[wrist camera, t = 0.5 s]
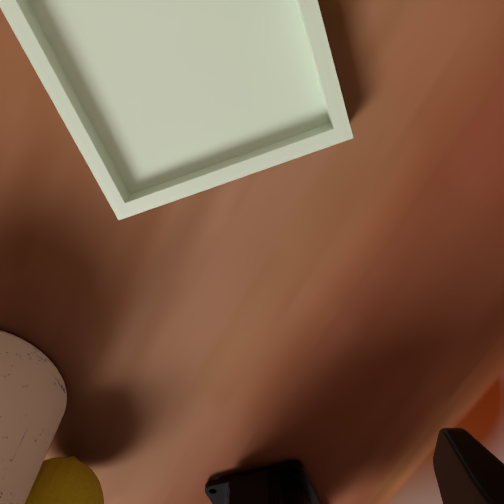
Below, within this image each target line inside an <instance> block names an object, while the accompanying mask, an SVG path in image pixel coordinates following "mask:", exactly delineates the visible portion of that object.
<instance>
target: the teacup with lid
mask: <svg viewBox="0 0 504 504" xmlns="http://www.w3.org/2000/svg"><path fill="white" fill-rule="evenodd" d="M66 404H67V393H66V387H65V384H64V381H63V379H62V377H61V375H60V373H59V371H58V370H57V368H56V367H55V365H54V364H53V363H52V362H51V361H50V360H49V358H48V357H47V356H46V355H44V354H43V353H42V352H41V351H40V350H38V349H37V348H36V347H34V346H33V345H31V344H30V343H28V342H26V341H25V340H23V339H21V338H19V337H17V336H15V335H12V334H10V333H7V332H4V331H1V330H0V504H25V502H26V500H27V497H28V495H29V493H30V491H31V488H32V486H33V484H34V481H35V479H36V477H37V475H38V472H39V470H40V468H41V465H42V463H43V461H44V458H45V456H46V454H47V452H48V449H49V447H50V445H51V442H52V440H53V438H54V436H55V433H56V431H57V429H58V426H59V424H60V422H61V420H62V417H63V415H64V412H65V409H66Z"/></svg>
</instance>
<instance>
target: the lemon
mask: <svg viewBox="0 0 504 504" xmlns="http://www.w3.org/2000/svg"><path fill="white" fill-rule="evenodd" d="M25 504H104V498H103V492H102V488H101V485H100V482H99V480H98V478H97V476H96V475H95V473H94V472H93V471H92V470H91V469H90V468H89V467H88V466H87V465H85V464H84V463H82V462H80V461H78V459H77V458H76V457H73V456H70V457H67V458H65V457H58V458H51V459H47V460H45V461H43V463H42V465H41V468H40V470H39V472H38V475H37V477H36V479H35V481H34V484H33V486H32V488H31V491H30V493H29V495H28V497H27V500H26V502H25Z"/></svg>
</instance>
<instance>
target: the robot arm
mask: <svg viewBox="0 0 504 504" xmlns="http://www.w3.org/2000/svg"><path fill="white" fill-rule="evenodd" d="M433 465H434V470H435V475H436V478H437V482H438V485H439V489H440V493H441V497H442V501H443V504H504V464H503V463H502V462H501V461H500V460H499V459H498V458H496V457H495V456H494V455H493V454H492V453H491V452H490V451H489V450H487V449H486V448H485V447H484V446H483V445H482V444H481V443H480V442H479V441H477V440H476V439H475V438H474V437H473V436H472V435H470V433H468V432H467V431H466V430H464V429H462V428H443V429H441V430H440V431H439V434H438V439H437V443H436V448H435V452H434V457H433ZM205 493H206V494H207V496H208V497H209V499H210V500H211V502H212V503H213V504H322V503H321V501H320V499H319V497H318V495H317V493H316V491H315V489H314V487H313V485H312V482H311V480H310V478H309V476H308V474H307V472H306V470H305V468H304V466H303V464H302V463H301V462H300V461H296V460H295V461H289V462H285V463H281V464H277V465H273V466H269V467H265V468H261V469H257V470H253V471H248V472H244V473H240V474H236V475H232V476H228V477H224V478H220V479H216V480H212V481H209V482H207V483H206V485H205Z"/></svg>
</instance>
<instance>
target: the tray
mask: <svg viewBox="0 0 504 504" xmlns="http://www.w3.org/2000/svg"><path fill="white" fill-rule="evenodd" d="M0 8H1V10H2V11H3V13H4V15H5V17H6V19H7V20H8V22H9V24H10V26H11V28H12V29H13V31H14V33H15V35H16V37H17V38H18V40H19V42H20V44H21V46H22V47H23V49H24V51H25V53H26V55H27V56H28V58H29V60H30V62H31V64H32V65H33V67H34V69H35V71H36V73H37V74H38V76H39V78H40V80H41V82H42V83H43V85H44V87H45V89H46V91H47V92H48V94H49V96H50V98H51V100H52V101H53V103H54V105H55V107H56V109H57V110H58V112H59V114H60V116H61V118H62V119H63V121H64V123H65V125H66V127H67V128H68V130H69V132H70V134H71V136H72V137H73V139H74V141H75V143H76V145H77V146H78V148H79V150H80V152H81V153H82V155H83V157H84V159H85V161H86V162H87V164H88V166H89V168H90V170H91V171H92V173H93V175H94V177H95V179H96V180H97V182H98V184H99V186H100V188H101V189H102V191H103V193H104V195H105V197H106V198H107V200H108V202H109V204H110V206H111V207H112V209H113V211H114V213H115V215H116V216H117V218H118V220H121V219H124V218H127V217H130V216H133V215H136V214H139V213H141V212H144V211H147V210H150V209H153V208H156V207H158V206H161V205H164V204H167V203H170V202H173V201H176V200H178V199H181V198H184V197H187V196H190V195H193V194H195V193H198V192H201V191H204V190H207V189H210V188H213V187H215V186H218V185H221V184H224V183H227V182H230V181H233V180H235V179H238V178H241V177H244V176H247V175H250V174H252V173H255V172H258V171H261V170H264V169H267V168H270V167H272V166H275V165H278V164H281V163H284V162H287V161H289V160H292V159H295V158H298V157H301V156H304V155H307V154H309V153H312V152H315V151H318V150H321V149H324V148H326V147H329V146H332V145H335V144H338V143H341V142H344V141H346V140H349V139H352V138H353V135H352V131H351V127H350V123H349V120H348V116H347V112H346V108H345V104H344V100H343V96H342V93H341V89H340V85H339V81H338V77H337V73H336V69H335V66H334V62H333V58H332V54H331V50H330V46H329V42H328V39H327V35H326V31H325V27H324V23H323V19H322V16H321V12H320V8H319V4H318V0H0Z"/></svg>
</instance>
